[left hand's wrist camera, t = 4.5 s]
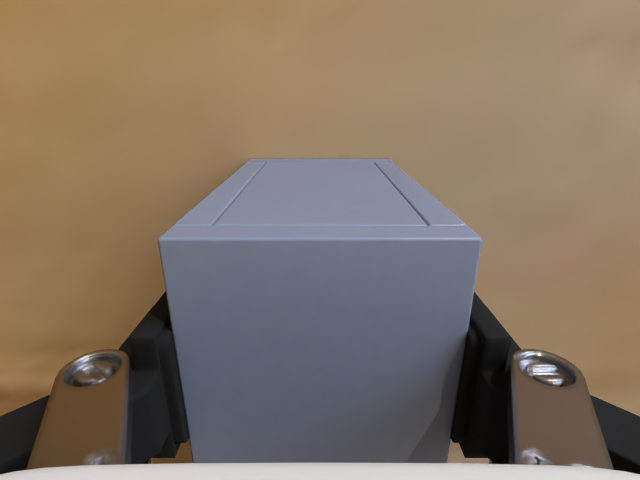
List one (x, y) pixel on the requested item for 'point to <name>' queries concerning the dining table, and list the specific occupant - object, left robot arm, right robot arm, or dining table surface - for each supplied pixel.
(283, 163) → the cabinet
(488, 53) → the dining table surface
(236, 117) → the dining table surface
